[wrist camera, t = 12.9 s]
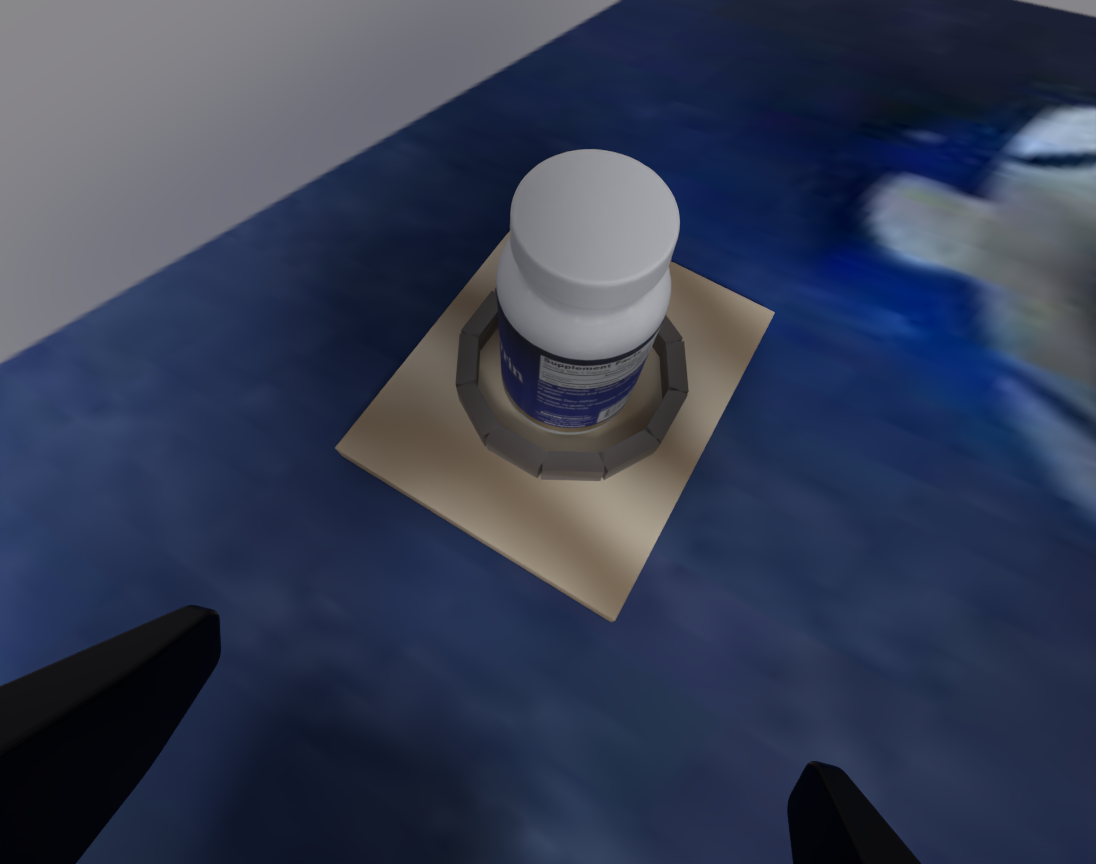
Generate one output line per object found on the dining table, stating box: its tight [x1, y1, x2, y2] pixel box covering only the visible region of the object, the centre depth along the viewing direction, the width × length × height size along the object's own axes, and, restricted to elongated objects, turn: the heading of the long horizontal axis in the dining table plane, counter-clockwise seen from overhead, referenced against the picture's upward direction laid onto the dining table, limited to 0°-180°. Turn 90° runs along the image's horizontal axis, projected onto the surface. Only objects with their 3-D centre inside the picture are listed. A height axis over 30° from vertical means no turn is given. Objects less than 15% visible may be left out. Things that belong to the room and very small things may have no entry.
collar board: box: [335, 231, 775, 622], centre depth 24 cm, size 16×13×2 cm
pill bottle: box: [496, 149, 680, 435], centre depth 20 cm, size 6×6×10 cm
